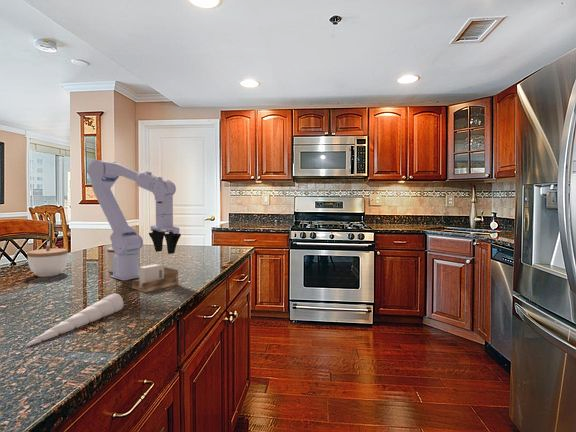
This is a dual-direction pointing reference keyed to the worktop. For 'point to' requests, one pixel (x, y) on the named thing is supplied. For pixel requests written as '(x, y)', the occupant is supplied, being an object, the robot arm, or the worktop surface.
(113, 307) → the unicorn horn
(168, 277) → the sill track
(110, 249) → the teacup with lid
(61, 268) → the lidded bowl
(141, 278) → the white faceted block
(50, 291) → the worktop surface
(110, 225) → the robot arm
